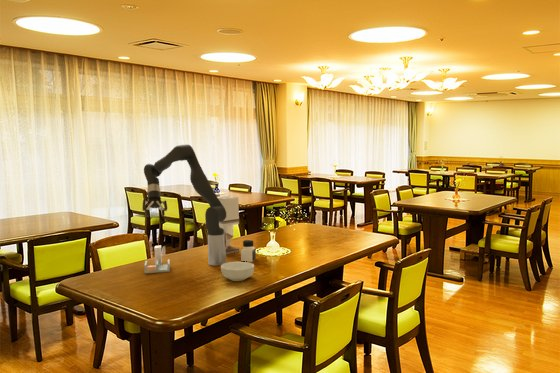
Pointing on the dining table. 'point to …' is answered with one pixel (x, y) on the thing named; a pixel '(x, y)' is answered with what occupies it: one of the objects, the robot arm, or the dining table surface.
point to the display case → (229, 220)
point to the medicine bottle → (248, 251)
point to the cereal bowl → (237, 270)
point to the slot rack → (157, 267)
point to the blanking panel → (158, 254)
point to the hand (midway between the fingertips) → (155, 216)
